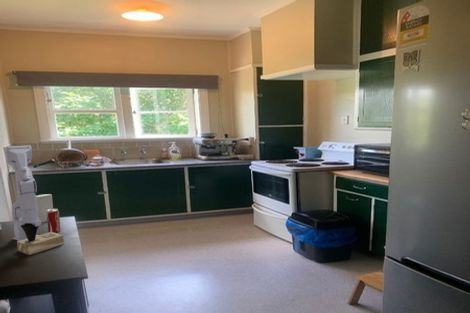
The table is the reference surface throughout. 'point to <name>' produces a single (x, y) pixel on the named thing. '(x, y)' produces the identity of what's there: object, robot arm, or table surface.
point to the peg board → (40, 243)
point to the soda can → (53, 221)
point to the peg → (49, 235)
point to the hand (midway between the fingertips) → (31, 240)
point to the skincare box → (44, 206)
